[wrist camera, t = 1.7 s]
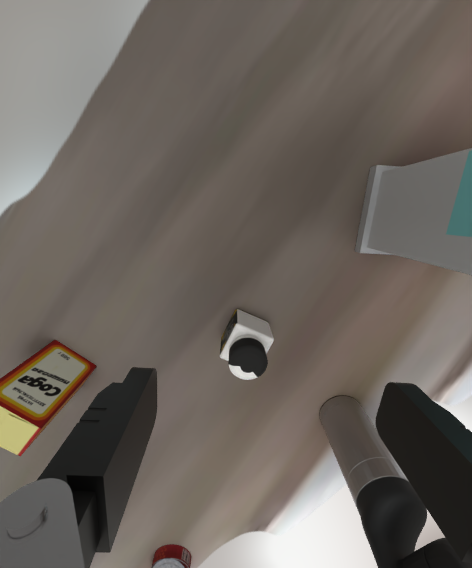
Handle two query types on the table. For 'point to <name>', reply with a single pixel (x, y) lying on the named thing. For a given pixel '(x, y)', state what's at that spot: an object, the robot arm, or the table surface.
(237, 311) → the medicine bottle
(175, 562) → the canned food
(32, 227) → the table surface
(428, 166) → the pedestal
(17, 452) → the baking soda box
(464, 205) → the block
